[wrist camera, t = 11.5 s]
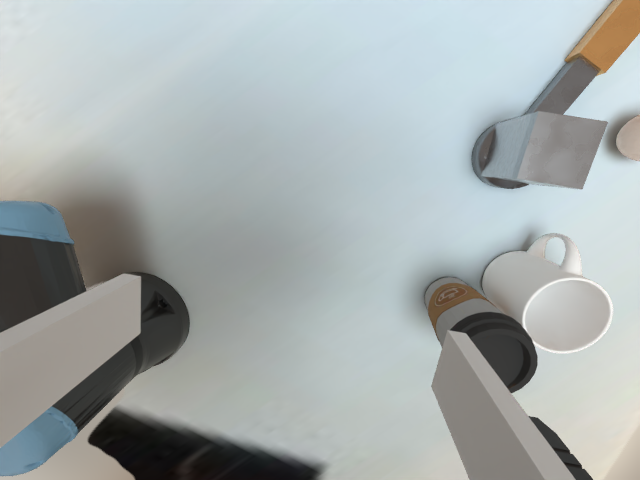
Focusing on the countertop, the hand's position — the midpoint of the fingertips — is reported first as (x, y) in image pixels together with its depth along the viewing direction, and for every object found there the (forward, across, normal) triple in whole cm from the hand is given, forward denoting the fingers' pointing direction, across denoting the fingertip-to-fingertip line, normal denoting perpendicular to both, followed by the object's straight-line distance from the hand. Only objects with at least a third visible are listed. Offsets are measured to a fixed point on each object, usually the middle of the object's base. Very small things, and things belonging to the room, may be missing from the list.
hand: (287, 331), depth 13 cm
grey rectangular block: (+27, +21, +12) cm, 36 cm away
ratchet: (+29, +24, +19) cm, 42 cm away
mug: (+29, +27, -2) cm, 40 cm away
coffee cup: (+30, +19, -8) cm, 36 cm away
